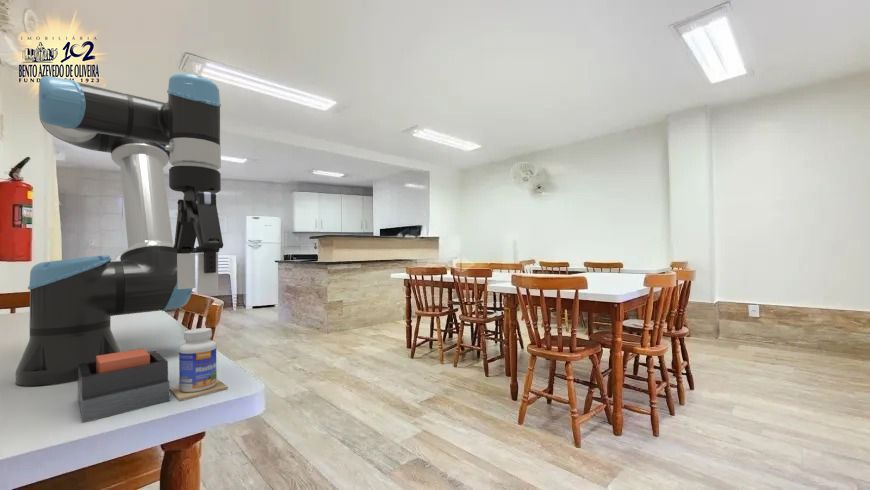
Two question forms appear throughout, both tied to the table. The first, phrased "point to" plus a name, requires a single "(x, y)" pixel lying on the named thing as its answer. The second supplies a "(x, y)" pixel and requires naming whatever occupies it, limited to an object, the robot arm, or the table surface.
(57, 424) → the table surface
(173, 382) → the table surface
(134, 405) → the grey square tray
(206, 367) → the pill bottle
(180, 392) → the coaster
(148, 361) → the orange block
